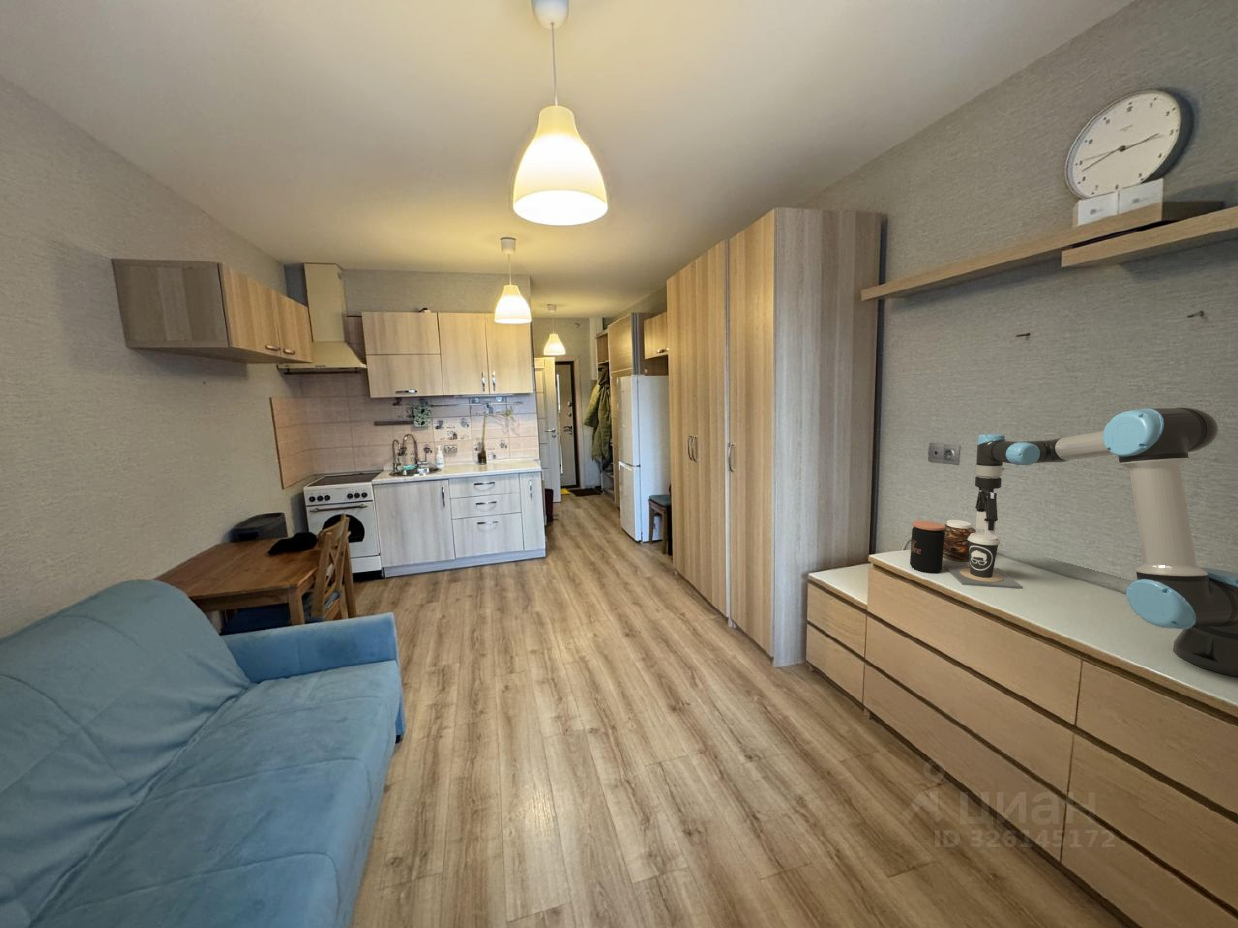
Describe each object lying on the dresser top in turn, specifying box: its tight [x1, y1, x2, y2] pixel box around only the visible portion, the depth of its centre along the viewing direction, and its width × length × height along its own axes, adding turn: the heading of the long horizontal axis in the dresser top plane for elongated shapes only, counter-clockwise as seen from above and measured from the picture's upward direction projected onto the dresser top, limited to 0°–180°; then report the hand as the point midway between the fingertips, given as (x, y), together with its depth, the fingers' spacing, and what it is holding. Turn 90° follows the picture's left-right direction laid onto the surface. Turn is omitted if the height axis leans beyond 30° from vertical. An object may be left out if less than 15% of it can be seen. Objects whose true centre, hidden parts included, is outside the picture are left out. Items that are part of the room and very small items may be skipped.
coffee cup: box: [968, 532, 1001, 578], centre depth 173 cm, size 10×10×15 cm
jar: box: [943, 519, 977, 563], centre depth 194 cm, size 12×12×15 cm
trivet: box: [943, 564, 1024, 590], centre depth 174 cm, size 18×18×1 cm
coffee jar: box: [909, 520, 945, 574], centre depth 183 cm, size 11×11×18 cm
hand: (984, 533), depth 172 cm, fingers open, 13 cm apart
